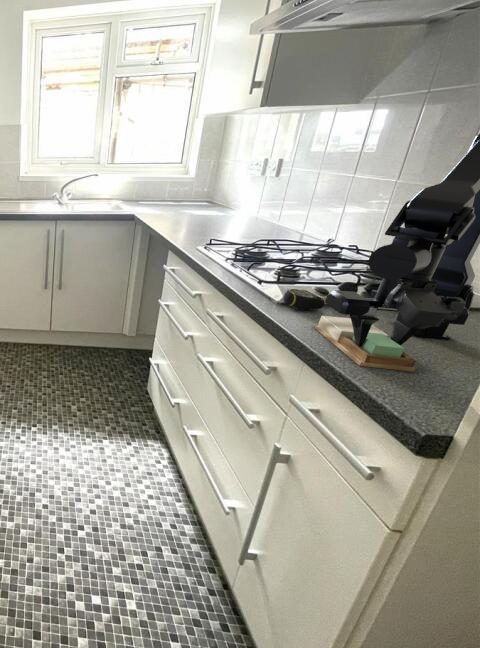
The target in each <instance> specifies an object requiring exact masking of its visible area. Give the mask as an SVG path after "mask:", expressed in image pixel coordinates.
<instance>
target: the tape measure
mask: <svg viewBox="0 0 480 648" xmlns="http://www.w3.org/2000/svg"><path fill="white" fill-rule="evenodd" d="M282 300H283V303H284V304H286V305H287V306H290V307H292V308H294V309H295V310H296V309H299V310H305V311H311V310H321V309H322V308H324V306H325V304H326V303H325V300H324V298H322V297H321V296H319V295H317V294H315V293H313V292H311V291H309V290H307V289H298V288H289V289H287V290H286V292H284V295H283V296H282Z"/></svg>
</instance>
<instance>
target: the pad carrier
mask: <svg viewBox="0 0 480 648" xmlns="http://www.w3.org/2000/svg"><path fill="white" fill-rule="evenodd" d="M315 330H317V332H319V333H320V334H321V335H322V336H324V337H325V338H326V339H327V340H328V341H330V342H331V343H332V344H333V345H334V346H335V347H337V348H338V349H339V350H340V351H342V352H343V353H344V354H345V355H346V356H348V358H349V359H350V360H351V361H353V362H355V363H356V364H357V365H358V366H359V367H367V368H376V369H386V370H394V371H404V372H413V373H414V372H415V371H416V367H415V366H414V365H415V363H416V361H417V360H416V359H414V358H413V357H412V356H410V355H409V354H407V353H406V352H404V351H403V353H402V355H401V357H392V356H383V355H373V354H369V353H367V352H366V351H365V350H363V349H362V348H361V347H360V346H358V345H357V344H356V343H354V342H353V341H352V339H353V336H354V331H353V326H352V321H351V318H350V317H341V316H329V315H321V316H320V319H319V322H318V324H316V325H315ZM369 332H370V333H380V334H384V335H385V336H387V337H388V338H390V336H389V335H388V334H387V333H386V332H384V331H383V330H382V329H380V328H378V327H377V326H375V325H374V324H372V325H371V328H370V330H369Z"/></svg>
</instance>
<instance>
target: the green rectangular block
mask: <svg viewBox="0 0 480 648" xmlns="http://www.w3.org/2000/svg"><path fill="white" fill-rule="evenodd" d="M390 338H391V337H387V336H385V335H384V334H380V333H370V332H369V333H368V335H367V338H366V340H365V342H364V344H363V345H362V347H361V348H362V349H363V350H365V351H366V352H367V353H369V354H373V355H383V356H392V357H401V355H402V353H403V352H404V351H405V347H403V346H402V345H401V346H400V345H399V344H397V343H396V342H394V341H393V340H391V339H390ZM352 341H353V342H354V343H355V337H354V336H353V339H352Z"/></svg>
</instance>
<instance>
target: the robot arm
mask: <svg viewBox="0 0 480 648" xmlns="http://www.w3.org/2000/svg"><path fill="white" fill-rule="evenodd" d="M392 220H393V221H392V222H391V223H390V225H389V226H388V227H387V229H386V231H385V232H384V235H385V236H390V237H393V239H392V242H391V243H389V244H385V245H382V246H379V247H378V248H376V249H375V250H374V251H373V252H372V253H371V254H369V255H370V256H369V257H368V267H369V269H370V271H371V272H372V273H373V274H374V275H375V276H377V277H379V278H381V281H380V284H379V286H378V289H372V290H371V291H370V296H371V297H373V298H365V297H364V296H362V295H361V294H359V293H358V292H356V291H350V290H337V289H334V290H332V291H331V292H329V293H328V294H327V295H326V298H325V300H324V301H325V304H326V305H328V306H329V307H330V308H332V309H333V310H335V311H336V312H337V313H339V314H342V315H347V316H349V318H351V321H352V326H353V331H354V337H355V343H356V344H357V345H358V346H360V347H362V345H363V344H364V342H365V340H366V338H367V335H368V333H369V330H370V328H371V325H374V324H375V323H377V322H378V321H380V319H379V318H378V317H376V316H375V315H376V312H377V311H385V312H397V315H396V316H397V317H396V320H395V321H394V322H393V324H394V327H393V330H392V332H391V336H390V337H389V338H390V339H391V340H393V341H394V342H396V343H397V344H399V345H400V346H402V345H403V344H404V343H406V342H407V341H408V340H409V339H411V338H412V337H413V336H415V337H423V338H433V339H434V338H435V339H441V340H442V339H445V340H450V339H451V336H450V335H448V334H447V333H446V331H447V329H448V327H449V326H450V325H458V326H465V325H466V323H467V321H468V319H469V317H470V313H469V311H470V309H471V307H472V304H473V302H474V298H475V293H474V288H475V286H474V285H473V284H472V283H473V282H474V280H475V277H476V275H475V271H474V269H473V266H472V264H471V261H472V259H473V257H474V255H475V253H476V252H477V249H478V247H479V245H480V133H479V134H478V135H476V136H475V137H474V139H473V141H472V143H471V145H470V147H469V149H468V150H467V152H466V153H465V154H464V156H463V157H462V158H461V159H460V160H459V161H458V163H457V164H456V165H455V166H453V168H452V169H451V170H450V171H449V172H448V174H447V175H446V176H445V177H444V178H443V179H442V180H441V181H440V182H439V183H437V184H434V185H431V186H427V187H425V188H423V189H421V190H420V191H419V192H418V193H417V194H416V195H414V197H412V199H411V200H407V201H406V202H405V204H403V206H402V208H401V209H400V210H399V212H398V213H397V215H396V216H395V217H394V219H392ZM403 225H404V226H403ZM402 226H403V227H402Z"/></svg>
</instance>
